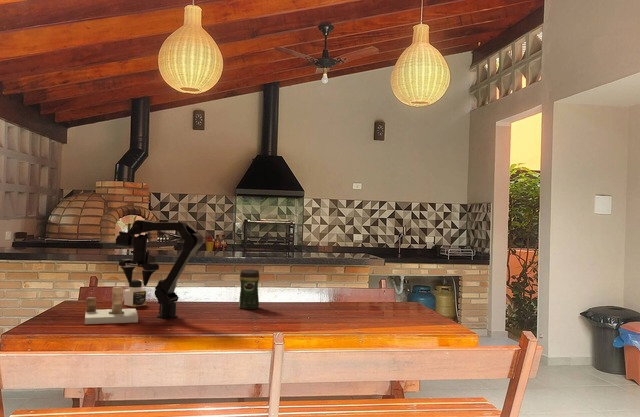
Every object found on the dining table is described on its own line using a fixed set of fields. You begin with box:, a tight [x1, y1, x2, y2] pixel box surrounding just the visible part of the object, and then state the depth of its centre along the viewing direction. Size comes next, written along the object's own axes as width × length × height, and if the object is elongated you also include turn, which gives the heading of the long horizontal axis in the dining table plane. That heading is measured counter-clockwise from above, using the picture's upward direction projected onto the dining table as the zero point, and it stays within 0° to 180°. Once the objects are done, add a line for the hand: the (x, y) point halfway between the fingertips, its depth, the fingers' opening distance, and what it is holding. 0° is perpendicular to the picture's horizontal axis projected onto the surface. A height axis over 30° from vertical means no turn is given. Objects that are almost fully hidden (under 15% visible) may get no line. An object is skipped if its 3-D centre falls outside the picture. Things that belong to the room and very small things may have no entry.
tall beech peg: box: [111, 286, 124, 314], centre depth 233 cm, size 4×4×13 cm
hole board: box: [84, 308, 139, 325], centre depth 233 cm, size 20×17×2 cm
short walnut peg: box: [85, 296, 97, 313], centre depth 235 cm, size 4×4×6 cm
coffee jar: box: [238, 268, 260, 310], centre depth 269 cm, size 10×8×19 cm
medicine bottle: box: [123, 279, 147, 308], centre depth 266 cm, size 7×7×12 cm
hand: (137, 284), depth 243 cm, fingers open, 9 cm apart
